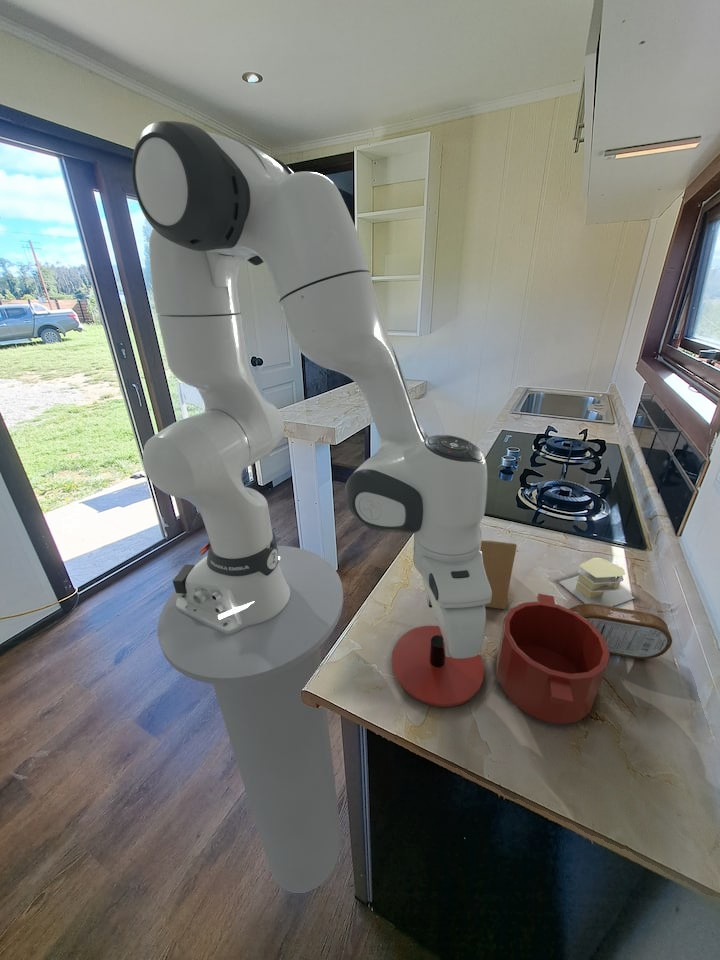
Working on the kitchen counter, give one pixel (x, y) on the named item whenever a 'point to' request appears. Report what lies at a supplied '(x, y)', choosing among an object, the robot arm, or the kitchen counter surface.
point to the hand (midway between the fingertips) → (440, 626)
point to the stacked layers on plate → (598, 583)
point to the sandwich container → (498, 569)
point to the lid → (434, 669)
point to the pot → (551, 661)
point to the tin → (628, 630)
